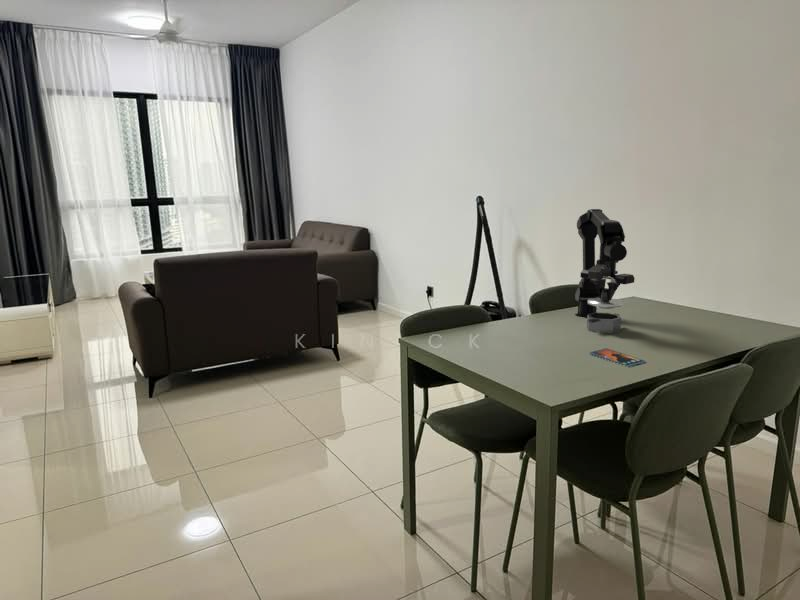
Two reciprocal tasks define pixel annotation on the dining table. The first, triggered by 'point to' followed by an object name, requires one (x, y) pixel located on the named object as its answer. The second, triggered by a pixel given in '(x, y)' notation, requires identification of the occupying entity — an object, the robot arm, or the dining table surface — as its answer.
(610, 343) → the dining table surface
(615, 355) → the smartphone
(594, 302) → the lid
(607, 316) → the pot
